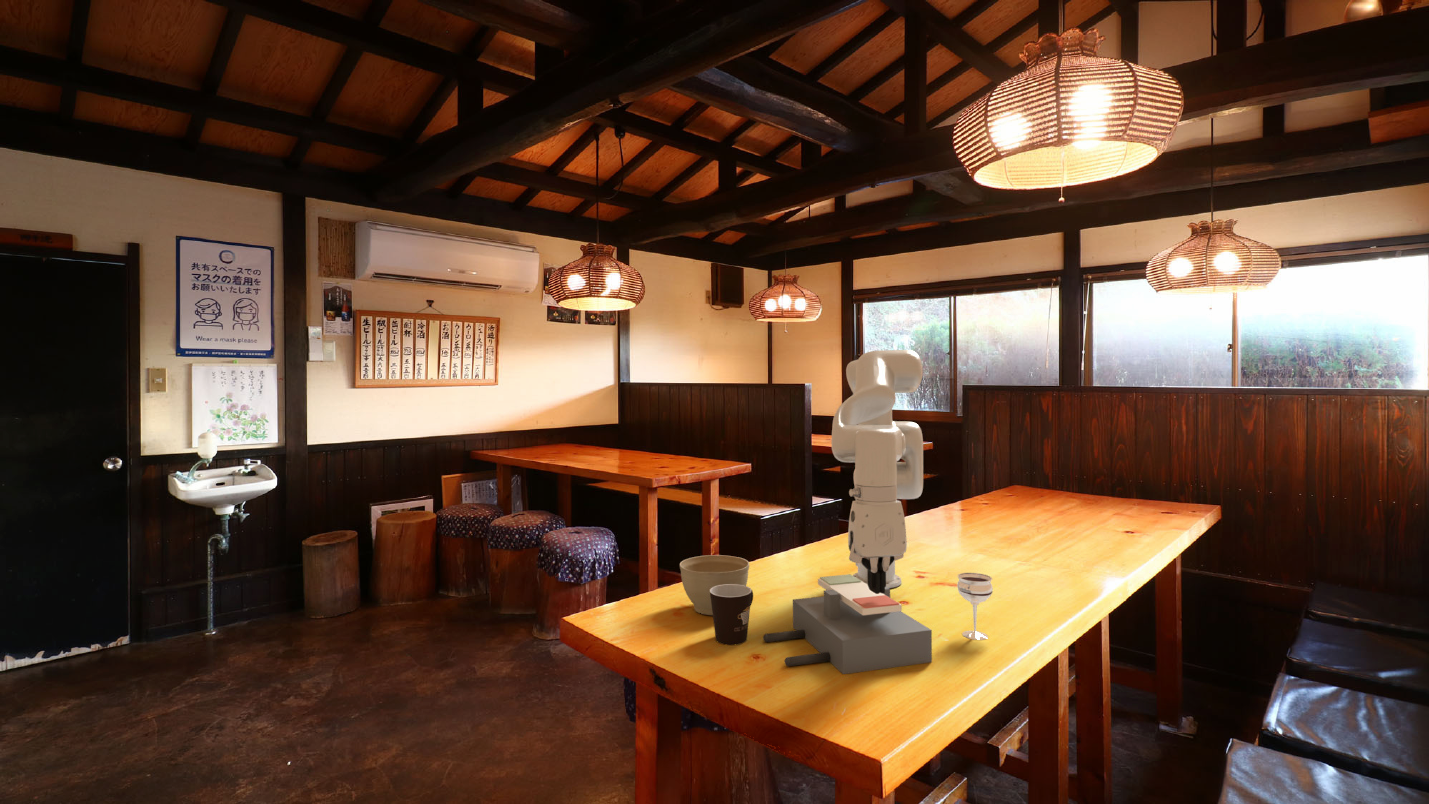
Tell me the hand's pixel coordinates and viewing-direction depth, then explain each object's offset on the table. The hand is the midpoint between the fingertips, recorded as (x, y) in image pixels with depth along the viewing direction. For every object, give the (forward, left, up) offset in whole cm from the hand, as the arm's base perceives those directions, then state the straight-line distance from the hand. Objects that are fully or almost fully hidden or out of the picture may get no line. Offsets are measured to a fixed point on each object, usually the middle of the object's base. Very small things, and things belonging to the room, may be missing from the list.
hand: (876, 591), depth 122 cm
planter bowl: (-36, -22, -13) cm, 44 cm away
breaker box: (-8, -4, -13) cm, 16 cm away
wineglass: (-5, +25, -13) cm, 29 cm away
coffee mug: (-18, -22, -13) cm, 31 cm away
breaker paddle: (-8, 0, -3) cm, 9 cm away
